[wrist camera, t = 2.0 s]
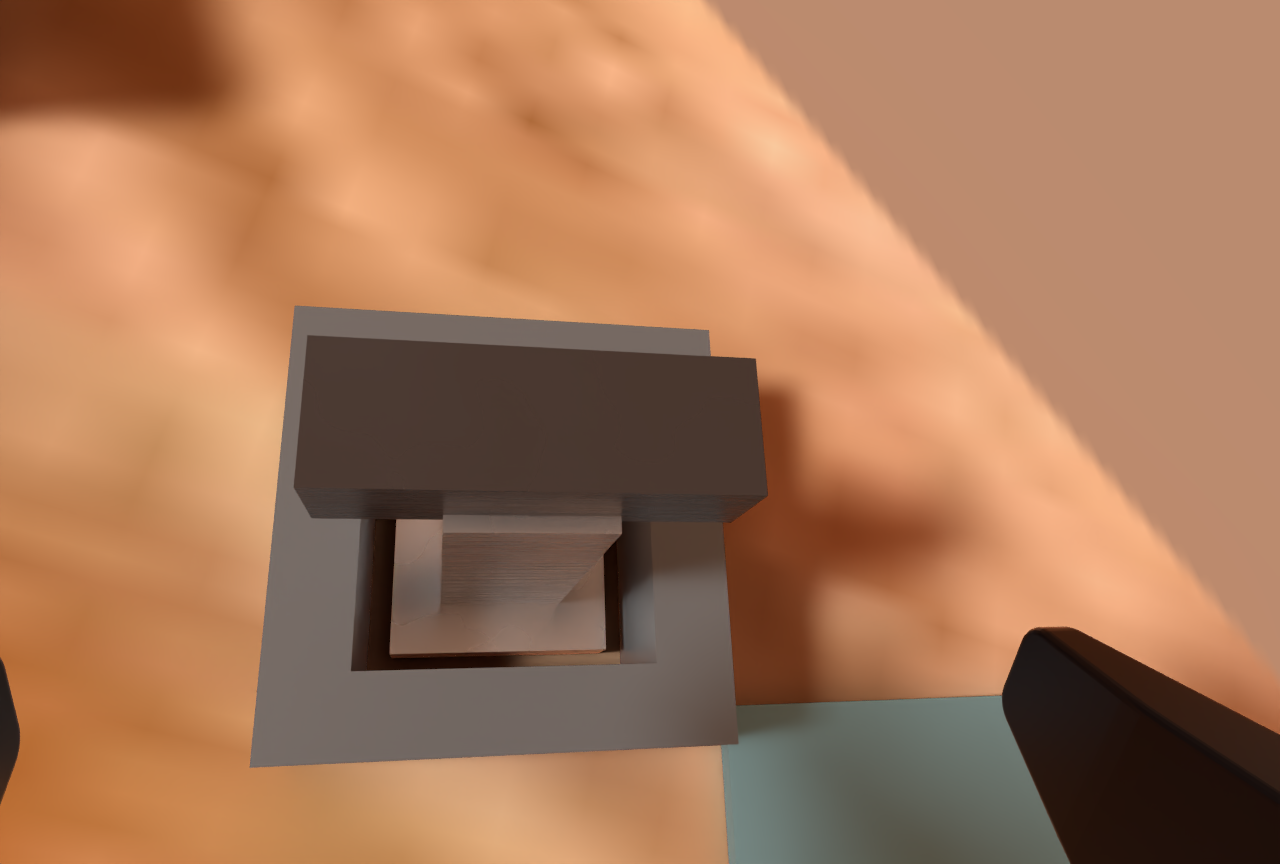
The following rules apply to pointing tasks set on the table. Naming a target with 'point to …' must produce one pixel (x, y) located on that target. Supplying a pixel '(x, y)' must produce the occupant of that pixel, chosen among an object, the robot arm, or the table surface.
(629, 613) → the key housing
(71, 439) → the table surface
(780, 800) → the key mat
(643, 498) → the t key
